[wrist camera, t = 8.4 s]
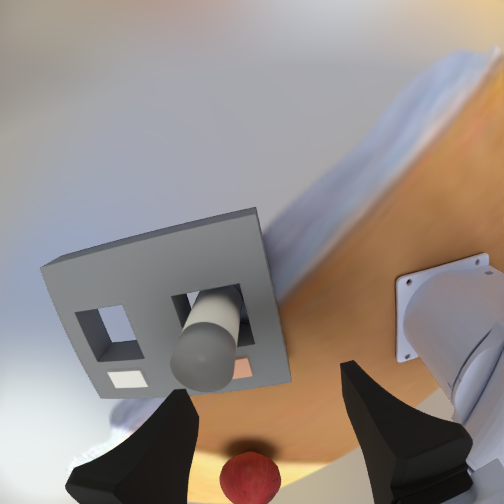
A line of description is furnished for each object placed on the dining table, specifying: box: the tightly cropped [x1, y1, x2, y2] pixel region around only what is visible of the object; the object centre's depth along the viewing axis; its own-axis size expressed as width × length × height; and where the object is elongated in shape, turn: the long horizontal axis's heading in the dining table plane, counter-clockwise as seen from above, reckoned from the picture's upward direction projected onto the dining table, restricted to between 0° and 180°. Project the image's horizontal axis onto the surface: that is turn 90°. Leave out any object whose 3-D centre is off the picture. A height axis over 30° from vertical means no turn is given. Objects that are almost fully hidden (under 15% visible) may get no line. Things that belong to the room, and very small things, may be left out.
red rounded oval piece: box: [220, 451, 281, 504], centre depth 23 cm, size 6×6×8 cm
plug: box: [170, 285, 242, 392], centre depth 18 cm, size 3×3×8 cm
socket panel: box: [40, 207, 292, 399], centre depth 21 cm, size 16×12×3 cm
